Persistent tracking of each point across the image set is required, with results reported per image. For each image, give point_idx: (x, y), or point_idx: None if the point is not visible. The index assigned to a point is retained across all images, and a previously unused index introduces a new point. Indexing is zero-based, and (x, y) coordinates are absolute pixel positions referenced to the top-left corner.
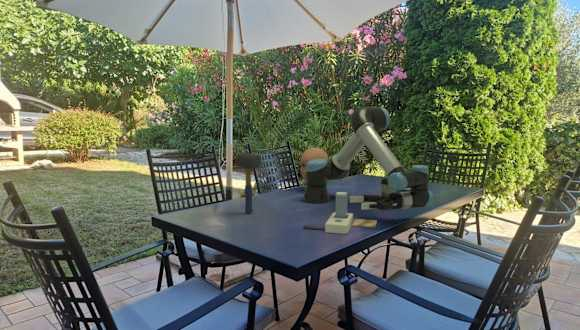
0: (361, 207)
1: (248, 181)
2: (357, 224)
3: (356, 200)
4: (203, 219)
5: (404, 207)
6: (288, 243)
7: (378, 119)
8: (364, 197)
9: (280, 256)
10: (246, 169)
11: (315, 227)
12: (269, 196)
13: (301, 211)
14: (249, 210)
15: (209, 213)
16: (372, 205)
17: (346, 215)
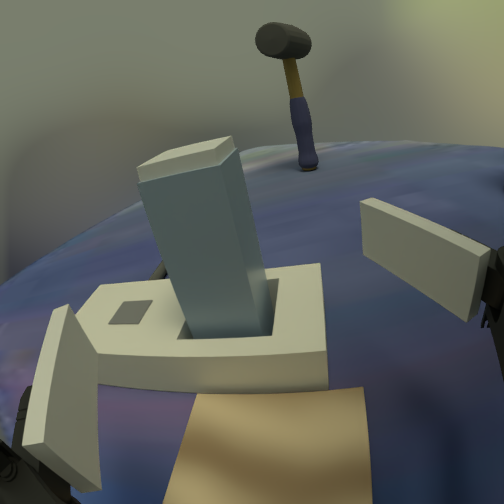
0: (85, 342)
1: (289, 90)
2: (202, 423)
3: (405, 263)
4: (244, 163)
5: None
6: (61, 272)
7: None
8: (501, 278)
9: (12, 282)
10: (283, 62)
11: (149, 279)
12: (477, 151)
13: (394, 205)
14: (300, 162)
15: (286, 155)
16: (22, 409)
17: (224, 324)
